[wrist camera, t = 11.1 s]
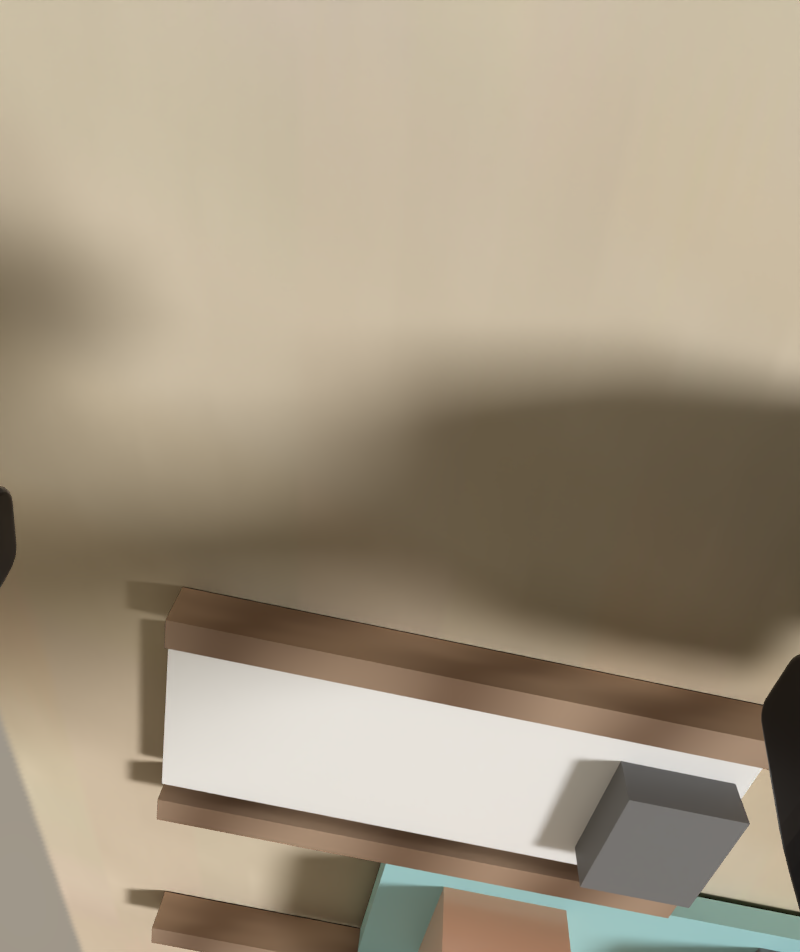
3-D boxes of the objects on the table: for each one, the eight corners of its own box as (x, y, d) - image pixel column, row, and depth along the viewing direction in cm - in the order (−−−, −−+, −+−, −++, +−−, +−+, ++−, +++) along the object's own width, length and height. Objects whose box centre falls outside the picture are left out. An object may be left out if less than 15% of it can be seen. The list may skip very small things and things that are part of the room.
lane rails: (771, 707, 25) (788, 746, 24) (587, 986, 35) (592, 1025, 33) (182, 587, 24) (165, 619, 23) (164, 905, 34) (151, 942, 33)
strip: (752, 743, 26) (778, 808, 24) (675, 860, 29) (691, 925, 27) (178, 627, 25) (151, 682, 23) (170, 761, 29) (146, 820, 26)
